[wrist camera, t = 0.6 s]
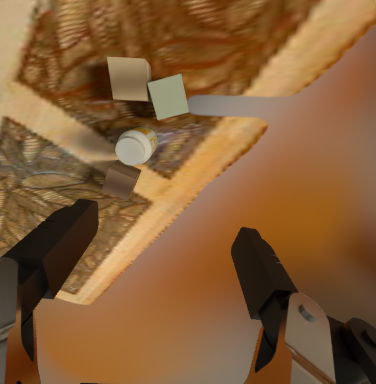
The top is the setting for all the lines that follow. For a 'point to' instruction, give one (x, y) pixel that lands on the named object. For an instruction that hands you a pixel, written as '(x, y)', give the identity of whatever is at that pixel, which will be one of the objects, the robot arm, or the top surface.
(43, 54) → the top surface
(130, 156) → the supplement bottle
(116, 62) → the oak block
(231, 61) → the top surface
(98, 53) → the top surface
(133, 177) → the walnut block
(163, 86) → the sage block
